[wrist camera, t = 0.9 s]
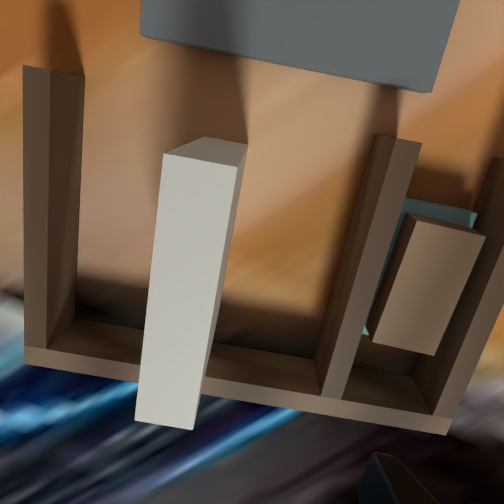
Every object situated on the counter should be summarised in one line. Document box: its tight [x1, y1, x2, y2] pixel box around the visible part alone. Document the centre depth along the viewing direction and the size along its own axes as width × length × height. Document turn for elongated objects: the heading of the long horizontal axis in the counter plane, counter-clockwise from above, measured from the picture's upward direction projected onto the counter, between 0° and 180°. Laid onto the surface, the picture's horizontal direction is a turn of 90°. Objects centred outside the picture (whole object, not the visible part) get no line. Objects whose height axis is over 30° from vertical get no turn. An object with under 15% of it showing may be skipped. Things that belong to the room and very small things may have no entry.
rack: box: [23, 65, 504, 435], centre depth 18 cm, size 20×13×3 cm, turn 79°
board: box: [135, 136, 248, 430], centre depth 16 cm, size 2×9×8 cm, turn 170°
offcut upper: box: [365, 212, 486, 356], centre depth 18 cm, size 3×6×2 cm, turn 167°
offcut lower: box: [362, 197, 477, 335], centre depth 20 cm, size 4×7×2 cm, turn 169°
